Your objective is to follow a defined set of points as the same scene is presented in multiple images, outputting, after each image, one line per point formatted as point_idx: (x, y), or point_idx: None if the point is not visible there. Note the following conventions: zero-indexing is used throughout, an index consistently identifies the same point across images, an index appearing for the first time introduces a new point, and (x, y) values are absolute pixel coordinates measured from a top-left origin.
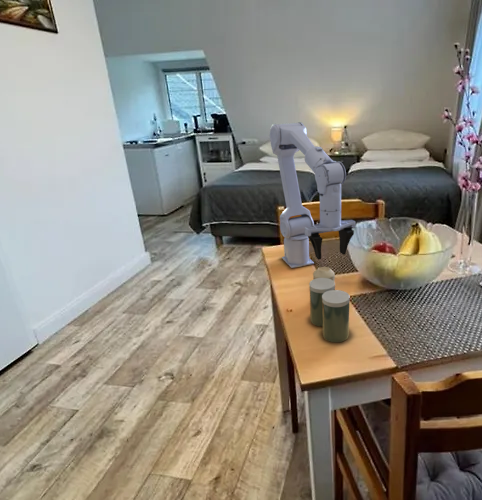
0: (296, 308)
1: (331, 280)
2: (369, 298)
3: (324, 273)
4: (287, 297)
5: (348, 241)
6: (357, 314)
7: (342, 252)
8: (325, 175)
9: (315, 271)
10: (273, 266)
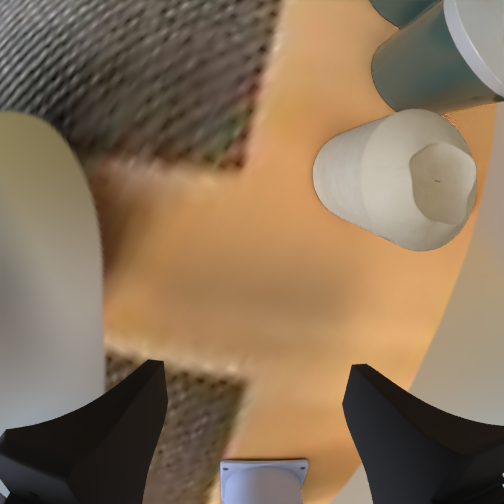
0: None
1: (464, 17)
2: (161, 115)
3: (455, 137)
4: (437, 285)
5: (90, 410)
6: (281, 35)
7: (162, 380)
8: None
9: (468, 214)
10: (344, 477)
